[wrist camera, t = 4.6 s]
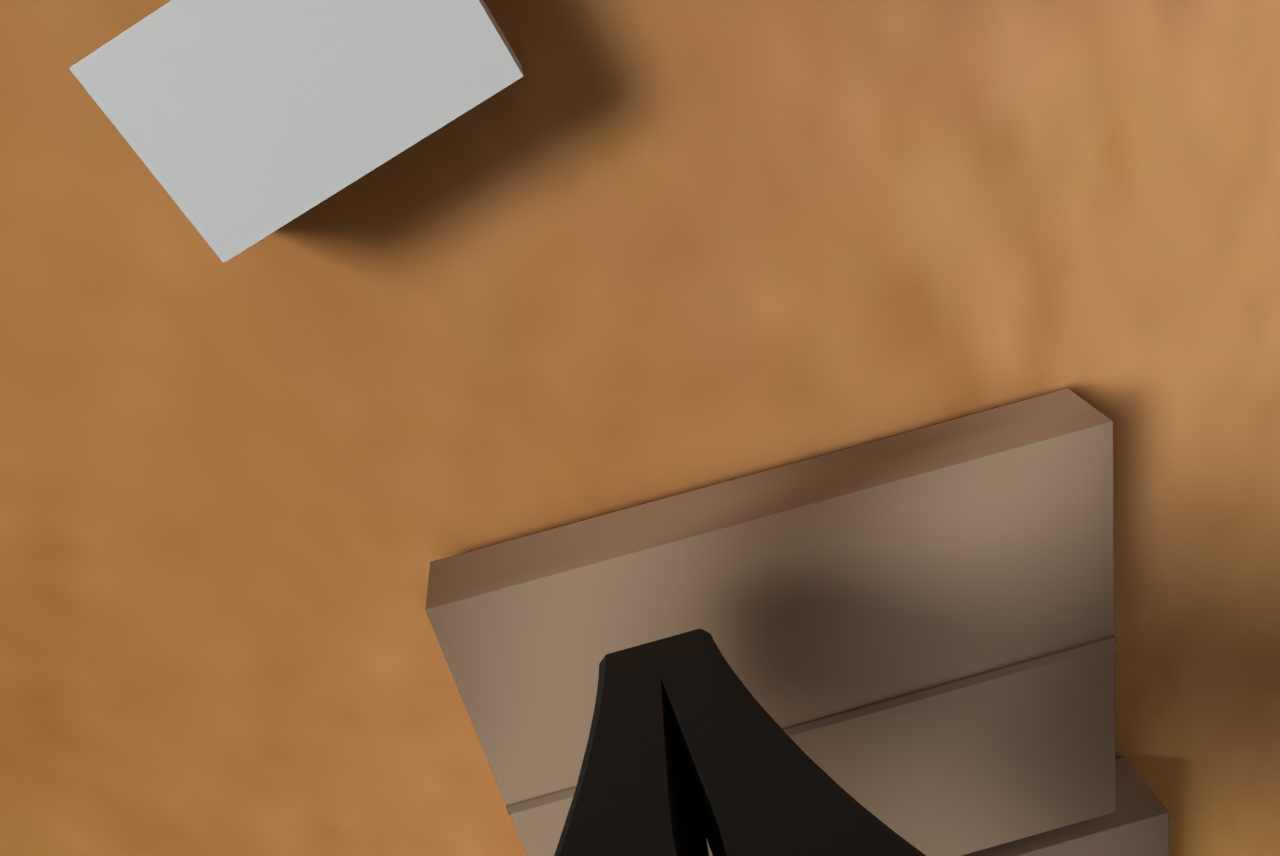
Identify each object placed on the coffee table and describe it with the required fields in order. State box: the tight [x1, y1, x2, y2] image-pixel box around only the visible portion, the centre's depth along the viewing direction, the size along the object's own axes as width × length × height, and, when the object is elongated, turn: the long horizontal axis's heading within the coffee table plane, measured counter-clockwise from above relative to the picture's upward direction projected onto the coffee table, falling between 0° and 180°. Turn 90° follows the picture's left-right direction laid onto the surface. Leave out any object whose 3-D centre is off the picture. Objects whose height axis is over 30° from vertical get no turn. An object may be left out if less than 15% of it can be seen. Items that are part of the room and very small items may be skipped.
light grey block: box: [69, 0, 523, 263], centre depth 11 cm, size 4×2×2 cm, turn 119°
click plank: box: [426, 388, 1116, 856], centre depth 16 cm, size 10×8×1 cm
